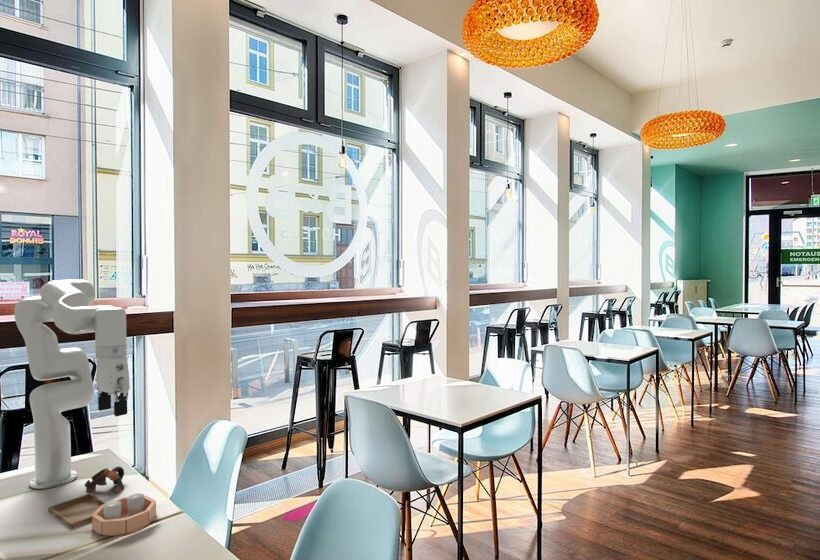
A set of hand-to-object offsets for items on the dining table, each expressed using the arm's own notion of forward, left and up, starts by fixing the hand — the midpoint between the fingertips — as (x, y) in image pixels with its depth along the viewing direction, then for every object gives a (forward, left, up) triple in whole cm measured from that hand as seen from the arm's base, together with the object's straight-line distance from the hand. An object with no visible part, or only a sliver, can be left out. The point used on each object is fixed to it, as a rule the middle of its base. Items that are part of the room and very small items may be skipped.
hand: (112, 412), depth 142 cm
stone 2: (+10, +1, -28) cm, 29 cm away
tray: (-6, -6, -28) cm, 30 cm away
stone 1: (+9, -4, -28) cm, 29 cm away
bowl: (+10, -1, -28) cm, 30 cm away
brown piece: (-15, +5, -29) cm, 33 cm away
